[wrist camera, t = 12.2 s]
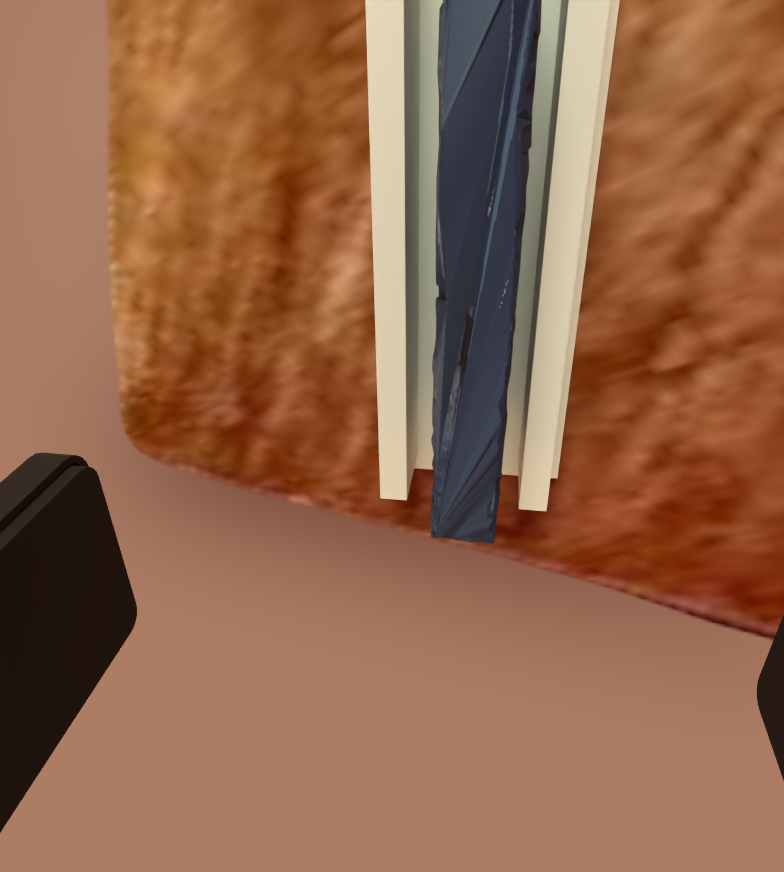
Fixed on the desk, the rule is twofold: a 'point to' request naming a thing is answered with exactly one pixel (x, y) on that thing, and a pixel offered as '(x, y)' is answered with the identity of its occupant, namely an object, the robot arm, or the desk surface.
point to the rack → (541, 241)
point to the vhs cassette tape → (478, 249)
